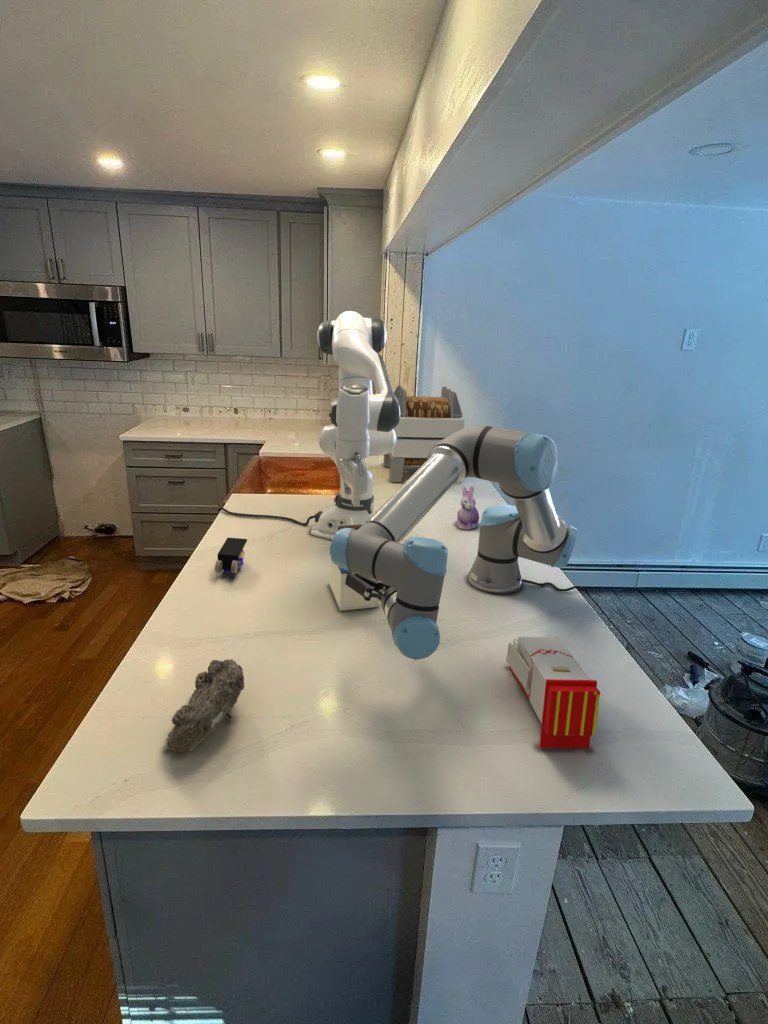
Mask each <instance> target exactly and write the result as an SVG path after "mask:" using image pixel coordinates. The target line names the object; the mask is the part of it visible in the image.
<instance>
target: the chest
mask: <svg viewBox="0 0 768 1024" xmlns="http://www.w3.org/2000/svg"><path fill="white" fill-rule="evenodd" d="M329 562H330V563H329V587H330V589H331V591H332V594H333V596H334V599H335V601H336V604H337V606H338V609H339V611H340V612H342V611H351V610H352V611H353V610H361V609H370V608H377V607H378V599H377V598H373V597H372V598H371V599H370V601H366V600H364V598H363V596H361V595H360V594H358V593H357V592H356V591H354V590H353V589H351V588H350V587H348V586H347V585H346V584H345V581H346V576H347V573H345V574H341V573H340V571H339V568H338V566H337V565H335V564H334V563H333V562H332V560H331V556H330V555H329ZM352 574H353V573H352ZM368 578H369V577H368ZM373 580H374V579H373ZM375 581H377V580H375ZM377 582H379V581H377Z"/></svg>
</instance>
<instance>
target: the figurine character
mask: <svg viewBox="0 0 768 1024" xmlns="http://www.w3.org/2000/svg"><path fill="white" fill-rule="evenodd" d="M247 542H248V538H240V537H226V539H225V541H224V543H223V544H222V546H221V547H220V549H219V551H218V552H217V560H216V562H215V564H214V572H215V573H221V577H222V578H224V577H225V576H226V574H227V573H230V574H231V573H232V574H231V578H234V577H235V575H236V573H237V572H239V571H240V567H242V566H243V565H244V564H245V562H244V558H245V551H244V547H245V546H246V544H247Z"/></svg>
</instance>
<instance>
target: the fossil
mask: <svg viewBox="0 0 768 1024" xmlns="http://www.w3.org/2000/svg"><path fill="white" fill-rule="evenodd" d="M243 670H244V669H243V667H242V665H240V664H237V662H236V661H235V660H234V659H232V658H231V659H227V658H226V659H224V660H223V661H222V660H217V659H212V660H211V661H210V663H209V665H208V666H207V671H201V672H199V673H198V674H197V675H196V676H195V680H194V684H195V685H194V687H195V689H194V690H193V693H192V694H191V697H190V698H189V700H188V704H184V705H182V706H181V707H180V709H177V710H176V711H175V713H174V715H173V716H172V718H171V723H172V724H173V727H172V730H171V731H170V732H168V734H167V738H166V741H167V742H166V745H167V749H168V750H169V751H173V752H174V753H176V754H178V753H182V752H188V751H189V752H192V751H193V750H195V748H196V747H197V746H199V744H200V743H201V742H203V741H204V740H205V739H206V738H207V737H208V736H209V735H210V734H211V733H212V732H214V730H215V729H217V727H218V726H219V724H220V722H221V721H222V720H223V719H224V718H225V716H226V717H227V719H229V720H233V717H232V715H230V714H229V710H230V709H231V708H234V706H235V704H236V703H237V702H238V699H239V697H240V695H241V693H242V691H243V690H245V689H244V688H245V675H244V671H243Z"/></svg>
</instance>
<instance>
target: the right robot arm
mask: <svg viewBox="0 0 768 1024" xmlns="http://www.w3.org/2000/svg"><path fill="white" fill-rule="evenodd" d="M558 458H559V453H558V447H557V444H556V443H555V442H554V440H553V439H552V438H551V437H549V436H547V435H543V434H541V433H538V432H532V431H531V432H528V431H522V430H514V429H508V428H501V427H496V426H490V425H485V424H484V425H482V424H481V425H473V426H468V427H464V429H462V430H460V431H458V432H455V433H453V434H451V435H450V436H448V437H446V438H445V439H443V440H442V441H440V442H439V443H438V444H437V445H436V446H434V447H433V448H432V449H431V450H430V452H429V453H428V455H427V461H426V462H425V463H424V464H423V465H422V466H419V468H418V469H417V470H416V471H415V472H414V473H413V474H412V475H411V476H410V477H409V478H408V479H407V480H406V481H404V483H403V484H401V486H400V487H399V488H398V489H397V490H396V491H395V492H394V493H393V494H392V495H391V496H390V497H389V498H388V499H387V500H386V501H385V502H384V503H383V504H382V505H381V506H380V507H379V508H378V509H377V510H376V511H375V512H374V513H373V515H372V516H371V517H370V518H369V519H368V520H367V521H366V522H365V523H364V524H363V525H362V526H361V527H360V528H359V529H358V530H355V529H354V528H343V529H340V530H339V531H338V532H337V533H336V534H335V535H334V537H333V539H332V540H330V541H331V542H330V545H329V557H330V556H331V560H332V562H333V563H334V564H335V565H337V566H339V567H341V568H343V569H345V570H348V571H349V572H348V573H347V576H346V581H345V584H346V585H347V586H348V587H350V588H351V589H353V590H354V591H356V592H357V593H358V594H360V595H361V596H363V598H364V600H366V601H370V599H371V598H372V597H373V598H377V601H379V602H380V603H381V608H382V612H383V613H384V616H385V618H386V621H387V624H388V627H389V628H390V629H389V630H390V632H391V635H392V640H393V643H394V645H395V646H396V647H397V649H398V651H399V652H400V653H401V654H402V655H403V656H405V657H406V658H408V659H410V660H415V661H416V660H423V659H424V660H425V659H427V658H428V657H430V656H432V655H433V654H434V653H435V652H436V651H437V649H438V648H439V645H440V642H441V634H440V629H439V626H438V623H437V621H438V617H439V612H440V611H439V610H440V603H441V597H442V593H443V588H444V582H445V577H446V574H447V571H448V570H447V562H448V555H449V549H448V547H447V545H446V544H445V543H443V542H442V541H440V540H437V539H433V538H428V537H424V536H411V537H408V538H406V537H407V536H408V535H409V534H410V533H411V532H412V530H413V529H415V527H416V526H417V525H418V524H419V523H420V522H421V521H422V520H423V519H424V517H425V516H426V515H427V514H428V513H429V512H430V511H431V510H432V509H433V507H434V506H435V505H436V504H437V503H438V502H439V501H440V500H441V498H443V496H444V495H445V494H446V493H447V492H448V491H449V490H450V489H451V487H452V486H456V485H459V484H462V482H463V481H464V480H465V479H467V478H468V479H469V478H475V479H480V480H483V481H488V482H493V483H497V484H498V487H499V489H500V490H501V492H502V493H503V494H504V495H506V496H507V497H508V498H510V499H512V501H513V504H514V505H513V504H512V505H511V504H499V505H493V506H492V505H491V506H489V507H486V508H485V509H484V510H483V512H482V514H481V519H480V523H479V535H478V536H479V537H478V546H477V554H476V557H475V559H474V562H473V564H472V565H471V568H470V570H469V572H468V583H470V585H471V586H472V587H474V588H475V589H477V590H480V591H483V592H486V593H490V594H496V595H505V594H506V595H507V594H512V593H515V592H517V591H519V590H520V589H521V586H522V583H527V584H530V585H534V586H538V587H543V586H550V587H552V588H553V589H554V590H556V591H558V592H562V593H563V592H564V593H565V592H569V591H572V590H575V589H578V590H581V591H582V592H586V589H584V588H583V587H582V586H581V585H574V586H571V587H567V588H559V587H557V586H556V585H555V584H554V583H552V582H549V581H547V582H543V583H541V582H535V581H532V580H528V579H524V578H522V575H521V570H520V565H519V558H522V559H525V560H528V561H532V562H536V563H540V564H543V565H546V566H549V567H551V568H559V569H564V568H565V567H566V566H567V565H568V563H569V562H570V559H571V556H572V553H573V551H574V547H575V546H576V545H575V544H576V541H577V536H578V529H577V528H576V527H574V526H572V525H566V522H565V521H564V519H563V518H562V517H561V516H560V515H559V514H557V512H556V509H555V506H554V503H553V499H552V495H551V492H550V489H549V488H550V487H551V486H552V484H554V480H555V478H556V476H557V472H558V466H559V465H558V464H559V461H558ZM405 538H406V540H405V543H402V542H403V540H404V539H405ZM350 572H353V574H352V573H350ZM368 577H369V578H368ZM373 579H374V580H373ZM375 580H377V581H378V582H377V581H375ZM574 588H575V589H574Z"/></svg>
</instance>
